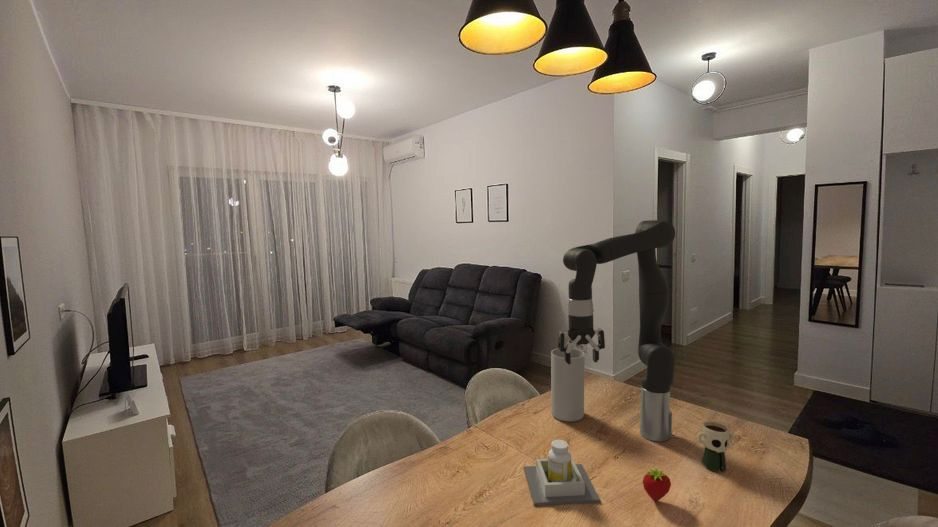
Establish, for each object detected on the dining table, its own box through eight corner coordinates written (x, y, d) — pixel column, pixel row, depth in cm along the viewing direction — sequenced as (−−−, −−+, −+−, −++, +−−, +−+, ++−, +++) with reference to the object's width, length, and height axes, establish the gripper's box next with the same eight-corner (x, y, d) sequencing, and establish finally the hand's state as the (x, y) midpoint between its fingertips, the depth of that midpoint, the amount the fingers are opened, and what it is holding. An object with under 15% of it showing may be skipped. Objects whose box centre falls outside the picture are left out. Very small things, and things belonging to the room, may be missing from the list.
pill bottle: (569, 475, 119) (569, 438, 118) (572, 489, 112) (573, 450, 111) (547, 474, 119) (547, 437, 118) (549, 488, 113) (549, 449, 112)
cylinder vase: (587, 422, 151) (588, 358, 148) (554, 422, 151) (554, 358, 148) (579, 407, 163) (579, 347, 161) (548, 407, 163) (548, 348, 161)
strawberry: (676, 506, 106) (677, 470, 105) (651, 511, 104) (652, 475, 103) (660, 491, 112) (661, 457, 111) (636, 496, 110) (637, 462, 109)
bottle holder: (581, 466, 124) (581, 453, 124) (600, 502, 108) (600, 487, 108) (523, 468, 124) (523, 455, 123) (533, 505, 108) (533, 490, 107)
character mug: (704, 475, 119) (706, 433, 117) (689, 461, 126) (691, 421, 124) (739, 472, 119) (741, 431, 118) (722, 458, 126) (724, 419, 125)
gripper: (598, 308, 129) (599, 357, 131) (554, 311, 128) (556, 360, 130) (607, 313, 121) (608, 365, 123) (561, 316, 121) (563, 368, 122)
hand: (581, 362), depth 127 cm, fingers open, 8 cm apart
